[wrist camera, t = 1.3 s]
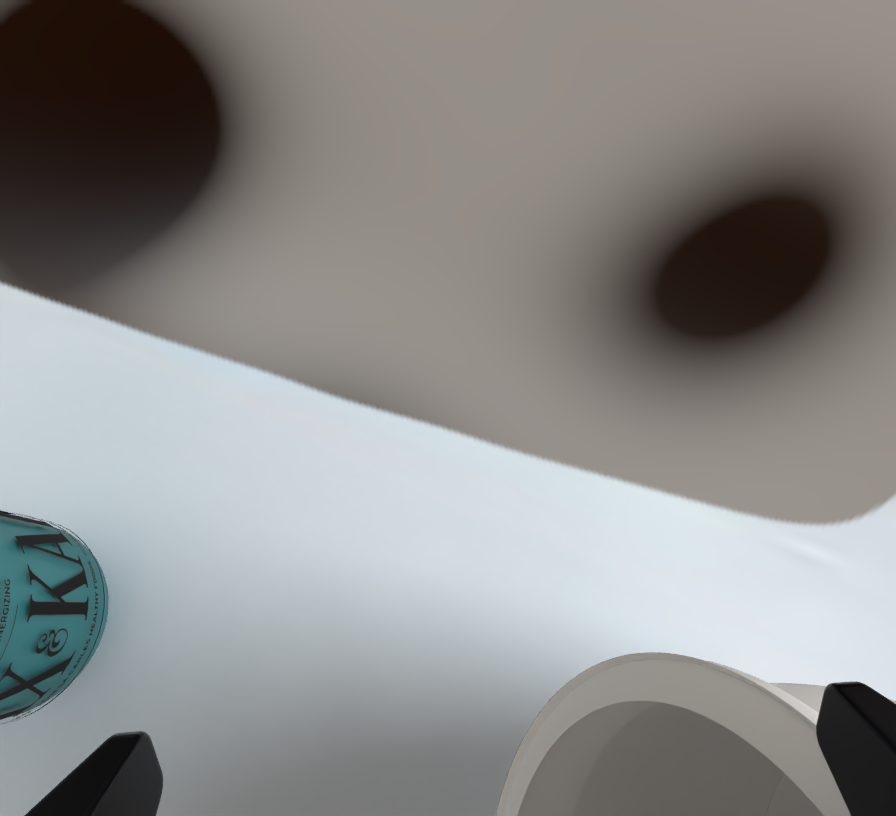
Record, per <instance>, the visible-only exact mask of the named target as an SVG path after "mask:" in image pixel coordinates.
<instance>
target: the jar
mask: <svg viewBox="0 0 896 816" xmlns="http://www.w3.org/2000/svg"><path fill="white" fill-rule="evenodd" d="M825 688H826V686H818V685H807V684H792V683H767V682H765V681H763V680H761V679H759V678H756V677H754V676H752V675H749V674H747V673H744V672H742V671H739V670H736V669H734V668H731V667H728V666H724V665H721V664H717V663H713V662H709V661H704V660H700V659H696V658H693V657H688V656H683V655H677V654H670V653H636V654H629V655H624V656H620V657H616V658H612V659H609V660H606V661H604V662H601V663H599V664H597V665H595V666H593V667H591V668H589V669H587V670H585V671H584V672H582V673H580V674H579V675H577V676H576V677H575V678H573V679H572V680H571V681H569V682H568V683H567V684H566V685H565V686H563V687H562V688H561V689H560V690H559V691H558V692H557V693H556V694H555V695H554V696H553V697H552V698H551V699H550V700H549V702H548V703H547V704H546V705H545V706H544V708H543V709H542V710H541V712H540V713H539V714H538V716H537V717H536V719H535V720H534V722H533V723H532V725H531V726H530V728H529V730H528V731H527V733H526V735H525V737H524V739H523V741H522V742H521V744H520V746H519V749H518V751H517V753H516V755H515V757H514V760H513V762H512V765H511V767H510V770H509V772H508V775H507V778H506V781H505V784H504V787H503V790H502V794H501V797H500V801H499V805H498V808H497V813H496V816H851V815H850V812H849V810H848V808H847V806H846V804H845V802H844V799H843V797H842V795H841V793H840V791H839V788H838V786H837V784H836V782H835V780H834V777H833V775H832V773H831V771H830V769H829V767H828V764H827V762H826V760H825V758H824V756H823V753H822V751H821V749H820V746H819V744H818V740H817V736H816V724H817V720H818V715H819V711H820V706H821V702H822V698H823V693H824V690H825ZM889 700H890V699H889ZM891 701H892V702H894V703H895V704H896V701H893V700H891Z"/></svg>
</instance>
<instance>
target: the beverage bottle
mask: <svg viewBox="0 0 896 816" xmlns="http://www.w3.org/2000/svg"><path fill="white" fill-rule="evenodd" d="M10 514H13V512H12V513H8V512H4V511H0V719H4V718H7V717H11V716H14V717H15V715H16V716H17V715H18V714H21V713H24V712H26V711H29V710H31V709H33V708H35V707H37V706H39V705H41V704H43V703H44V702H46V701H47V700H49V699H50V698H52V697H53V696H55V695H56V694H58V693H59V692H60V691H62V690H63V689H64V688H65V687H66V686H67V687H68V686H69V685H70V684H71V682H72V681H73V680H74V679H75V678H76V677H77V676H78V675H79V674H80V673H81V671H82V670H83V669H84V668H85V666H86V665H87V664H88V662H89V661H90V659H91V657H92V656H93V654H94V653H95V651H96V649H97V647H98V645H99V643H100V640H101V637H102V635H103V632H104V628H105V625H106V621H107V614H108V590H107V585H106V581H105V577H104V574H103V572H102V569H101V567H100V565H99V563H98V562H97V560H96V558H95V557H94V556H93V554H92V552H91V551H90V549H89V548H88V547H87V545H86V544H85V543H84V542H83V541H82V540H81V539H80V538H79V537H78V536H77V535H76V534H75V535H76V536H77V537H78V538H79V539H80V540H81V541H82V542H83V543H84V544H85V545H86V547H87V548H88V549H89V550H88V549H87V548H86V547H85V546H84V545H83V544H82V543H81V542H80V541H79V540H78V539H76V538H75V537H73V536H72V535H71V534H70V533H68V532H67V533H66V531H65V530H63V528H62V530H63V531H62V530H60V529H61V527H60V529H57V528H54V527H53V526H51V525H49V524H47V523H45V522H43V521H42V522H41V520H42V519H41V520H40V521H36V520H32V519H28V518H23V517H22V516H21V517H19V516H15V515H10ZM19 515H20V514H19ZM21 515H22V514H21ZM25 517H27V516H26V515H25ZM29 517H30V516H29ZM32 518H33V517H32ZM33 519H36V518H33ZM38 520H39V519H38ZM50 523H51V522H50ZM51 524H52V523H51ZM54 525H55V524H54ZM58 525H59V524H58ZM55 526H56V525H55ZM60 526H61V525H60ZM62 527H63V526H62ZM58 528H59V526H58ZM64 528H65V527H64ZM66 529H67V528H66ZM64 531H65V532H64ZM69 531H70V530H69ZM72 533H73V532H72ZM73 534H74V533H73ZM67 687H66V688H67ZM66 688H65V689H66ZM65 689H64V690H65ZM64 690H63V691H64ZM63 691H62V692H63ZM62 692H61V693H62ZM61 693H60V694H61ZM58 695H59V694H58ZM58 695H57V696H58ZM57 696H56V697H57ZM56 697H55V698H56ZM55 698H54V699H55ZM52 700H53V699H52ZM52 700H51V701H52ZM51 701H50V702H51ZM50 702H49V703H50ZM47 704H48V703H47ZM47 704H46V705H47ZM44 706H45V705H44ZM44 706H43V707H44ZM41 708H42V707H41ZM41 708H40V709H41ZM38 710H39V709H38ZM38 710H37V711H38ZM30 712H31V711H30ZM35 712H36V711H35ZM26 713H27V712H26ZM26 713H25V714H26ZM33 713H34V712H33ZM31 714H32V713H31ZM23 715H24V714H23ZM29 715H30V714H29ZM27 716H28V715H27ZM20 717H21V716H20ZM25 717H26V716H25ZM18 718H19V717H18ZM16 719H17V718H16ZM20 719H21V718H20ZM17 720H18V719H17ZM12 722H13V721H12ZM5 723H6V722H5ZM3 724H4V723H3Z"/></svg>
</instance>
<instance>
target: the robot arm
mask: <svg viewBox="0 0 896 816" xmlns="http://www.w3.org/2000/svg"><path fill="white" fill-rule="evenodd" d="M816 736H817V740H818V744H819V746H820V749H821V751H822V753H823V756H824V758H825V760H826V762H827V764H828V767H829V769H830V771H831V773H832V775H833V777H834V780H835V782H836V784H837V786H838V788H839V791H840V793H841V795H842V797H843V799H844V802H845V804H846V806H847V808H848V810H849V812H850V815H851V816H896V704H895V703H894V702H892V701H891V700H889V699H887V698H886V697H884V696H883V695H881V694H880V693H878V692H877V691H875V690H873V689H872V688H870V687H869V686H867V685H865V684H863V683H860V682H840V683H831V684H829V685H828V686H827V687H826V688H825V690H824V693H823V698H822V702H821V706H820V711H819V715H818V720H817V724H816ZM162 788H163V775H162V770H161V767H160V765H159V762H158V759H157V756H156V753H155V750H154V747H153V744H152V741H151V738H150V736H149V735H148V734H147V733H146V732H142V731H139V732H125V733H117V734H115V735H113V736H111V737H110V738H108V739H107V740H106V741H105V742H104V743H103V744H102V745H101V746H100V747H98V748H97V749H96V750H95V751H94V752H93V753H92V754H91V755H90V756H89V757H88V758H87V759H85V760H84V761H83V762H82V763H81V764H80V765H79V766H78V767H77V768H76V769H75V770H73V771H72V772H71V773H70V774H69V775H68V776H67V777H66V778H65V779H64V780H63V781H62V782H60V783H59V784H58V785H57V786H56V787H55V788H54V789H53V790H52V791H51V792H50V793H49V794H47V795H46V796H45V797H44V798H43V799H42V800H41V801H40V802H39V803H38V804H37V805H36V806H34V807H33V808H32V809H31V810H30V811H29V812H28V813H27V814H26V815H25V816H156V813H157V809H158V805H159V802H160V798H161V794H162Z"/></svg>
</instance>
